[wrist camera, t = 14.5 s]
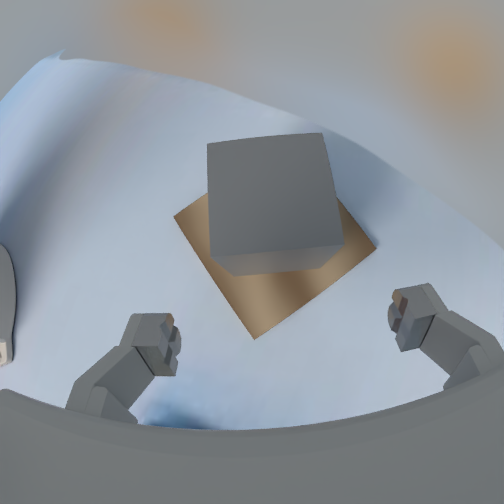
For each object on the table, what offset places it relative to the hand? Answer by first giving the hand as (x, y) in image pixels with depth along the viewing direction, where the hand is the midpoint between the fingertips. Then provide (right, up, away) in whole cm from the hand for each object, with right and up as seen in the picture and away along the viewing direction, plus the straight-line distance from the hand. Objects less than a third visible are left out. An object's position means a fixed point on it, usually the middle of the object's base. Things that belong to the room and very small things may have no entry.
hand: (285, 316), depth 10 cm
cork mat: (+1, +4, +13) cm, 13 cm away
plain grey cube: (0, +4, +12) cm, 13 cm away
